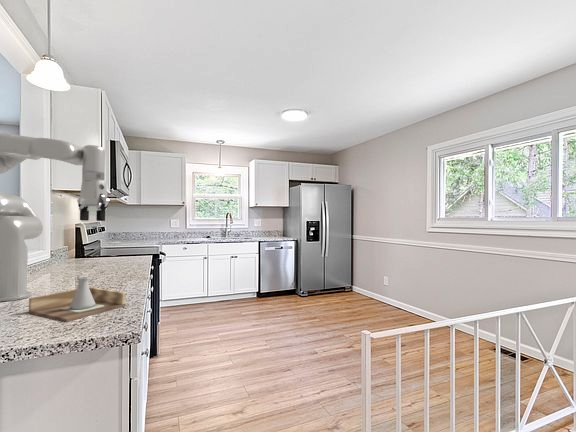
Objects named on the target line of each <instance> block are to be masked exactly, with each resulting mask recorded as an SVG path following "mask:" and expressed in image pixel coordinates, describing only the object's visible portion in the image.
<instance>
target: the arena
mask: <svg viewBox="0 0 576 432" xmlns="http://www.w3.org/2000/svg"><path fill="white" fill-rule="evenodd" d="M89 289H90V292H91V294H92V297H93V299H94V301H95V303H96V305H95V306H93V307H90V308H85V309H71V308H69V307H70V305H71V302H72V300H73V298H74V296H75V293H76V291H77V289H71V290H66V291H59V292H55V293H51V294H45V295H40V296H35V297H34V296H33V297H28V314H32V315H35V316H39V317H45V318H49V319H52V320H53V319H54V320H58V321H61V322H62V321H63V322H65V323H69V322H73V321H75V320H80V319H83V318H86V317H90V316H94V315H97V314H101V313H104V312H108V311H111V310H116V309H120V308H123V307H126V305H127V304H126V300H127V299H126V298H127V297H126V296H127V292H126V291H125V292H124V291H118V290H111V289H105V288H99V287H92V286H89Z"/></svg>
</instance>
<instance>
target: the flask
mask: <svg viewBox="0 0 576 432" xmlns="http://www.w3.org/2000/svg"><path fill="white" fill-rule="evenodd" d="M89 280H90V277H89V276H81V277H77V281H78V285H77V291H76V293H75V296H74V298H73V300H72V302H71V305H70V307H69V308H71V309H85V308H90V307H93V306H95V305H96V303H95V301H94V299H93V297H92V294H91V292H90V289H89V287H90V285H89Z"/></svg>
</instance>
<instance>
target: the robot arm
mask: <svg viewBox="0 0 576 432" xmlns="http://www.w3.org/2000/svg"><path fill="white" fill-rule="evenodd" d="M27 159H28V160H35V161H36V160H38V161H39V160H40V159H48V160H55V161H60V162H64V163H67V164H71V165H74V166H81V168H82V170H81V172H82V173H81V174H82V175H81V181H82V182H81V187H80V195H79V198H77V204H78V209H79V221H80V222H81V221H89V220H90V211H89V208H90V207H96V209H97V210H96V221H97V222H105V221H106V211H107V208H108V206H109V203H110V199H109V197H108V189H107V183H106V181H105V174H106V173H105V172H106V171H105V170H106V150H105V148H104V147H102V146H98V145H92V144H87V145H84V146H83V147H82V146H79V145H76V144H74V143H72V142H68V141H65V140H61V139H54V138H49V137H33V136H27V135H19V134H12V133H6V132H0V175H2V174H5V173H7V172H8V171H10V170H11V169H14V168H15V167H16V166H18V165H20V164H21V163H23V162H24V161H26V160H27ZM43 226H44V225H43V223H42V220H41V219H40V218H39V217H38V215H37V214H36V212H35V211H34V209H32V207H31V206H30V205H29V204H28V202H27V201H26V200H25V199H23V198H22V197H20V196H18V195H14V194H6V193H4V192H3V191H2V190H0V303H1V302H10V301H18V300H22V299H27V298H31V296H32V292H31V291H27V290H28V287H27V286H28V258H29V257H28V255H29V254H28V246H27V244H26V242H25V240H33V239H36V238H38V237H40V236H41V234H42V233H43V229H44V227H43Z"/></svg>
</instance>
